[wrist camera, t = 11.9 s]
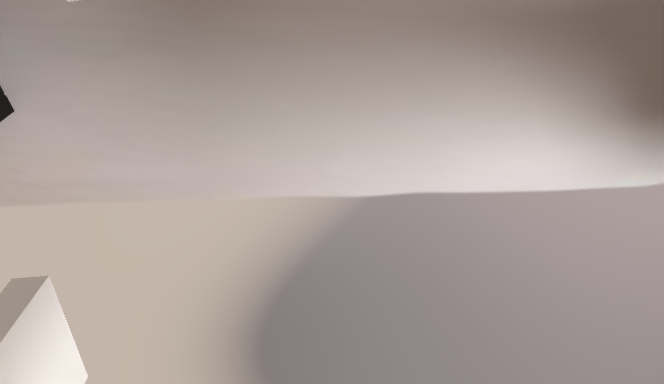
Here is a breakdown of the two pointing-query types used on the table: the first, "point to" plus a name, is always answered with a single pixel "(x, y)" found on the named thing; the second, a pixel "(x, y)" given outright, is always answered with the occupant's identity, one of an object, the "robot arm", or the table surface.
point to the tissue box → (4, 106)
